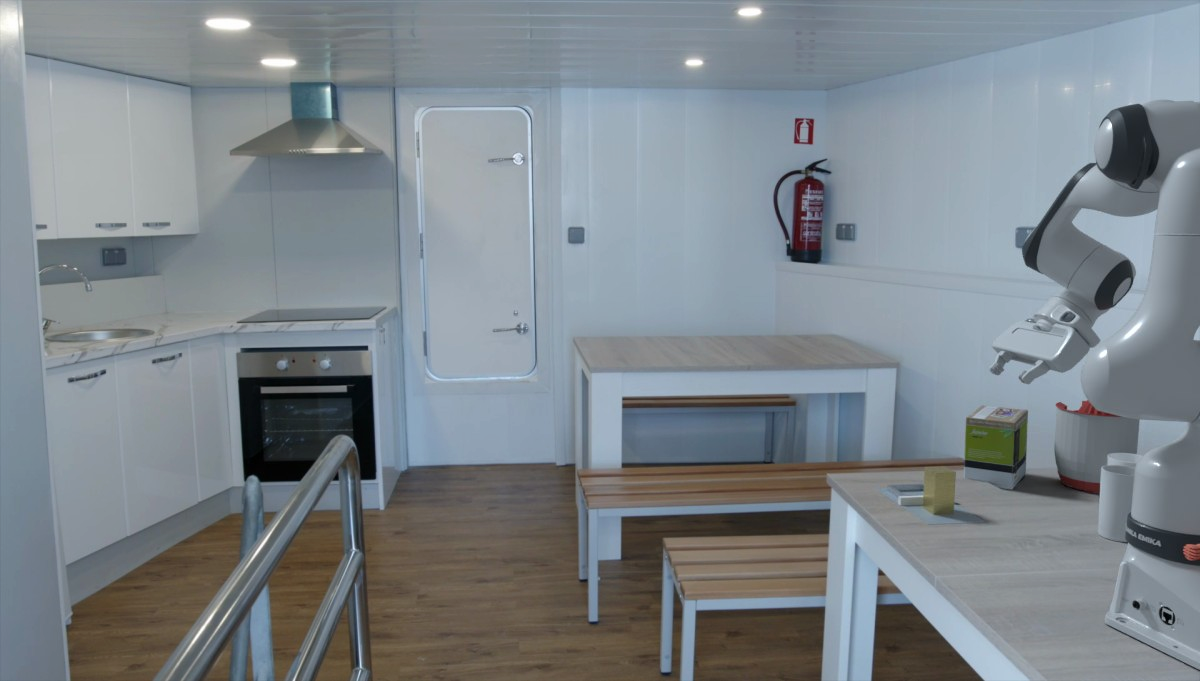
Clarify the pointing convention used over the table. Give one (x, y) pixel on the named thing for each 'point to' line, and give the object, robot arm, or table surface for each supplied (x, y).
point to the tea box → (996, 446)
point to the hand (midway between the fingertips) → (1007, 376)
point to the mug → (1115, 501)
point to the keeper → (904, 489)
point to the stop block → (939, 490)
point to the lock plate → (916, 508)
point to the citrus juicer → (1090, 443)
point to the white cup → (1123, 459)
